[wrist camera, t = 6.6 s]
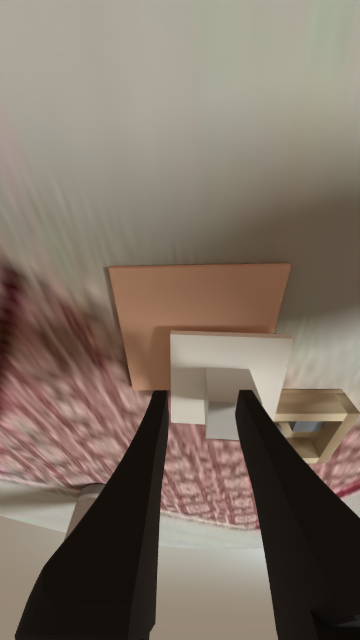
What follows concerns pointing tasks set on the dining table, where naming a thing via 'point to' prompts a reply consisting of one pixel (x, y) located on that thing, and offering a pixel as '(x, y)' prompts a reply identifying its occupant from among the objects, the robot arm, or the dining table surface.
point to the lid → (224, 376)
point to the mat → (190, 308)
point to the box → (315, 421)
